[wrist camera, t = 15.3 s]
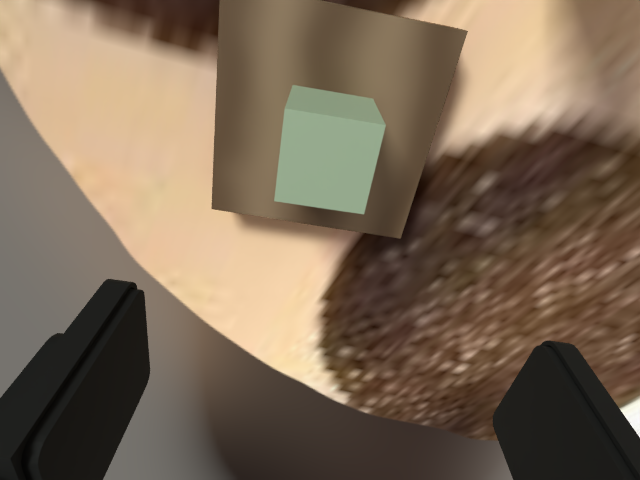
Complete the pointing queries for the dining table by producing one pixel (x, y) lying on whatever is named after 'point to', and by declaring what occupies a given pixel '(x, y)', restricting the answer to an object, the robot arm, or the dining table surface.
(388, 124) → the walnut block
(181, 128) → the dining table surface
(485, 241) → the dining table surface
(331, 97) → the green cube
